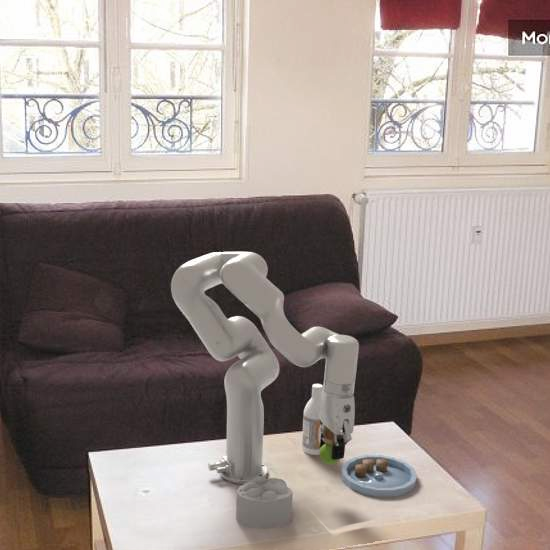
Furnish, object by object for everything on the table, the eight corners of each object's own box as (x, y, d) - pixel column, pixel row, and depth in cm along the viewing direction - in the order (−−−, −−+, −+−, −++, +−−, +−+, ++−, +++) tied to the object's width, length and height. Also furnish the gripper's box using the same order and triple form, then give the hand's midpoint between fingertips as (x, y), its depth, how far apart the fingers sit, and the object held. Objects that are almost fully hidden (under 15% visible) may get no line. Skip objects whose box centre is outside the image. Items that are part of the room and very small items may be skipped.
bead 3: (379, 473, 233) (380, 464, 232) (373, 468, 235) (374, 459, 235) (389, 471, 234) (389, 462, 233) (383, 466, 237) (383, 457, 236)
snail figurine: (342, 470, 217) (347, 426, 213) (316, 466, 218) (321, 422, 214) (345, 460, 222) (350, 417, 218) (320, 456, 223) (324, 413, 219)
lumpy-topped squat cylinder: (295, 523, 209) (296, 490, 207) (243, 532, 205) (244, 498, 203) (280, 502, 219) (281, 470, 217) (230, 509, 215) (230, 477, 212)
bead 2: (365, 473, 232) (366, 465, 232) (360, 468, 235) (360, 460, 234) (375, 471, 234) (376, 463, 233) (369, 466, 236) (370, 458, 236)
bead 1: (358, 478, 230) (358, 470, 229) (352, 473, 232) (353, 465, 232) (368, 476, 231) (368, 468, 230) (362, 471, 233) (363, 463, 233)
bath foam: (314, 460, 241) (318, 392, 236) (296, 451, 246) (299, 384, 240) (331, 453, 246) (335, 386, 240) (313, 444, 250) (317, 378, 245)
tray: (365, 506, 218) (366, 495, 217) (328, 471, 235) (329, 462, 234) (430, 491, 226) (431, 482, 225) (390, 459, 243) (390, 450, 242)
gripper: (370, 398, 208) (362, 467, 213) (335, 370, 223) (328, 435, 228) (342, 401, 205) (334, 471, 210) (309, 373, 220) (302, 439, 225)
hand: (331, 452), depth 219 cm, fingers closed on snail figurine, 5 cm apart
